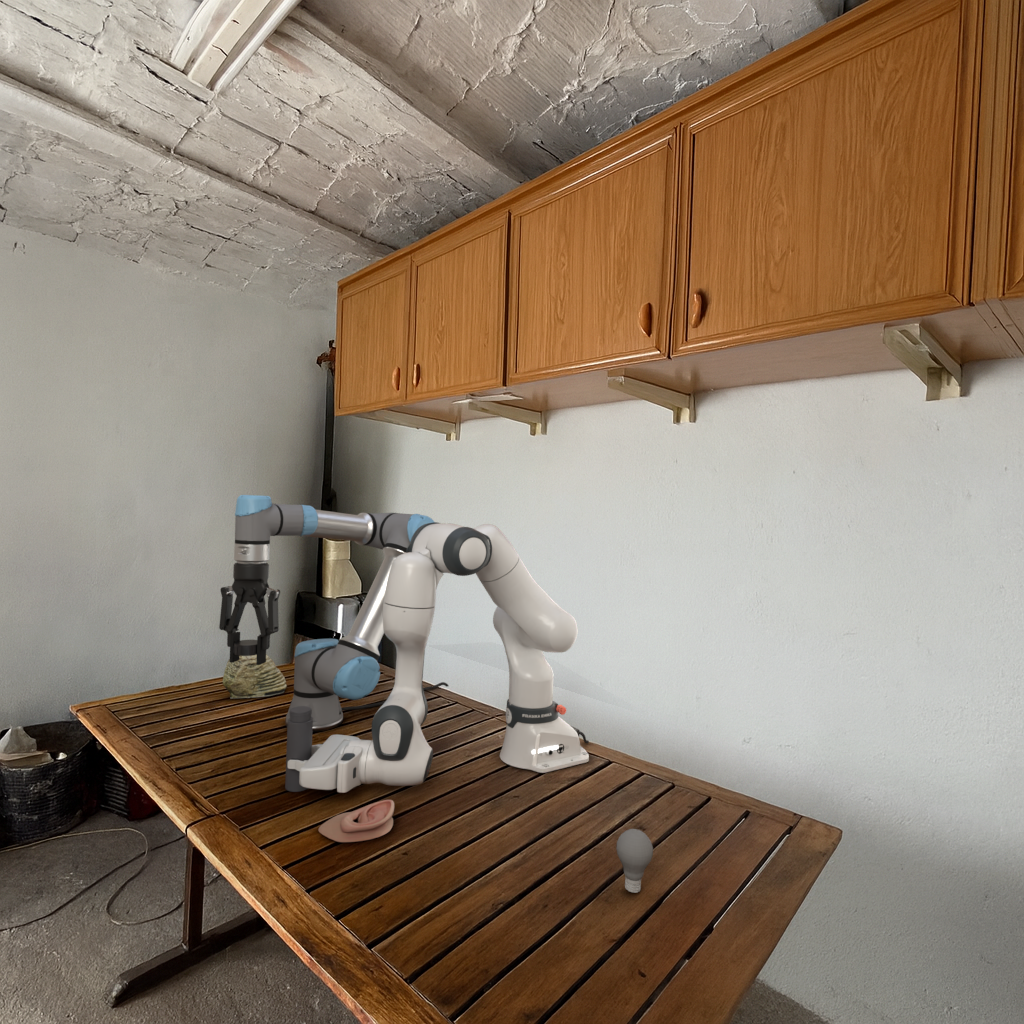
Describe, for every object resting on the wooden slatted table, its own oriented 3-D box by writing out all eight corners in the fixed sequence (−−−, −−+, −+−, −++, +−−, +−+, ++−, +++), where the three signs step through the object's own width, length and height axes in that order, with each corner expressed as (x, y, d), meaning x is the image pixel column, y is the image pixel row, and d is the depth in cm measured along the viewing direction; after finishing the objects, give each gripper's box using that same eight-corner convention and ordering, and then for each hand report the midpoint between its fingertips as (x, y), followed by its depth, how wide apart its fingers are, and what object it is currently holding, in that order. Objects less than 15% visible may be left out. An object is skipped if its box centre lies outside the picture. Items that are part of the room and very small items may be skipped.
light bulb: (610, 879, 108) (613, 822, 108) (644, 879, 109) (647, 822, 109) (619, 902, 102) (622, 840, 102) (655, 901, 103) (658, 840, 103)
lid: (242, 657, 141) (243, 646, 141) (228, 652, 145) (228, 642, 145) (267, 653, 146) (267, 642, 146) (252, 648, 150) (253, 638, 150)
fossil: (218, 695, 195) (220, 647, 195) (278, 685, 208) (279, 640, 207) (228, 703, 189) (230, 653, 188) (289, 692, 201) (290, 645, 201)
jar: (301, 778, 142) (304, 703, 141) (315, 786, 138) (318, 709, 138) (280, 786, 138) (283, 709, 137) (293, 794, 134) (296, 715, 134)
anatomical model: (310, 816, 117) (339, 789, 129) (309, 837, 117) (338, 808, 129) (377, 827, 115) (401, 798, 126) (376, 848, 115) (400, 818, 126)
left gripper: (203, 561, 143) (199, 662, 143) (281, 566, 140) (277, 669, 141) (223, 558, 151) (219, 655, 151) (298, 563, 148) (294, 661, 148)
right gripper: (371, 729, 148) (312, 725, 148) (343, 766, 127) (275, 761, 128) (369, 756, 148) (311, 752, 148) (342, 797, 127) (274, 792, 128)
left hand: (247, 662), depth 146 cm, fingers closed on lid, 6 cm apart
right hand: (294, 756), depth 138 cm, fingers closed on jar, 5 cm apart
